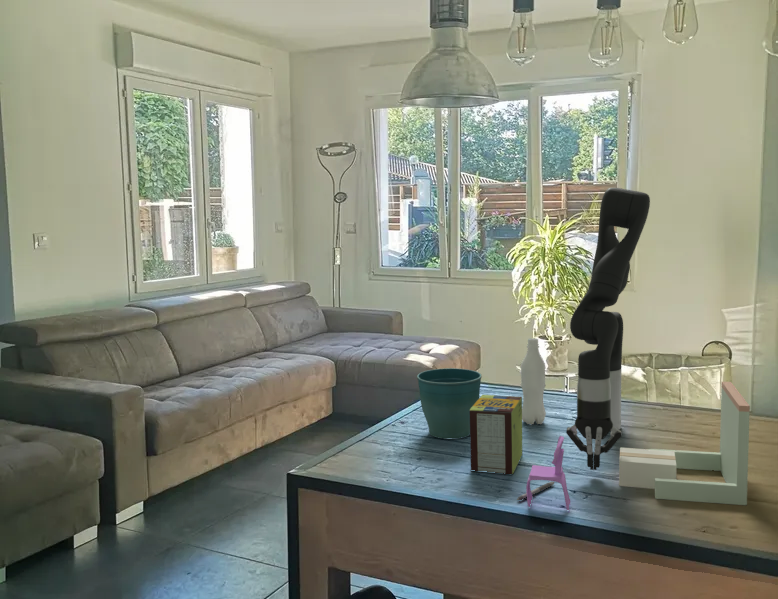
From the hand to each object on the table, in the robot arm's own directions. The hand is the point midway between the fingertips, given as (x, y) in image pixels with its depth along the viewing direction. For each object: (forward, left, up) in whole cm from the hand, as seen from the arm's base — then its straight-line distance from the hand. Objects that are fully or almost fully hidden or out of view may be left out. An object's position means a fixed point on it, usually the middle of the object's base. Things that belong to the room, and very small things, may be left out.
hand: (593, 468), depth 172 cm
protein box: (-23, +5, -2) cm, 24 cm away
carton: (+12, 0, -2) cm, 12 cm away
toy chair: (-9, -19, -2) cm, 21 cm away
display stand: (+22, 0, -2) cm, 22 cm away
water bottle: (-17, +42, -2) cm, 46 cm away
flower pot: (-39, +27, -2) cm, 48 cm away
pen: (-12, -13, -3) cm, 18 cm away
